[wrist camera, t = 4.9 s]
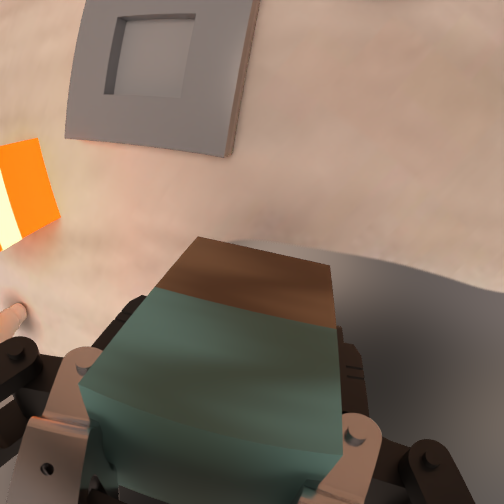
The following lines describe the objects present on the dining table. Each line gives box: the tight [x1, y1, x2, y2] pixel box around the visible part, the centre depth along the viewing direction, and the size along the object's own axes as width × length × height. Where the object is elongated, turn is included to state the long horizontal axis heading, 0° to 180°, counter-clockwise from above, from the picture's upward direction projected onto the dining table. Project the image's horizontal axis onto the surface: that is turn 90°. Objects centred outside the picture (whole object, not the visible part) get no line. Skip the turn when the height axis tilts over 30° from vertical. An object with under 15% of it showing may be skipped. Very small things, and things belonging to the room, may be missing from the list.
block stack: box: [78, 236, 343, 504], centre depth 9 cm, size 4×4×7 cm
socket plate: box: [65, 0, 260, 158], centre depth 20 cm, size 14×14×3 cm
